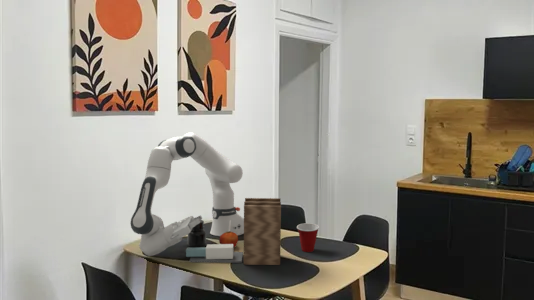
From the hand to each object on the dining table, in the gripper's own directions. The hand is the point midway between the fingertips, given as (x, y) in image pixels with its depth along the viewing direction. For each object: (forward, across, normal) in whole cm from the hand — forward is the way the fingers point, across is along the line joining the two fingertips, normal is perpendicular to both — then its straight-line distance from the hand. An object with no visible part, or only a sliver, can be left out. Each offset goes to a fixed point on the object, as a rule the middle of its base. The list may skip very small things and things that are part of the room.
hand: (200, 218), depth 227 cm
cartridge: (-5, 0, +17) cm, 18 cm away
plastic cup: (+33, +14, +41) cm, 55 cm away
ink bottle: (-13, +21, +14) cm, 29 cm away
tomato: (0, +18, +22) cm, 28 cm away
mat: (-3, +2, +20) cm, 20 cm away
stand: (+15, 0, +30) cm, 33 cm away
